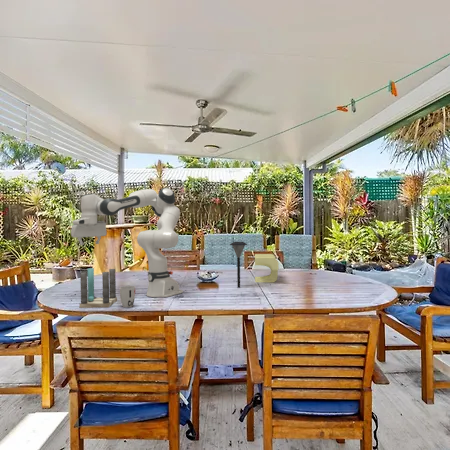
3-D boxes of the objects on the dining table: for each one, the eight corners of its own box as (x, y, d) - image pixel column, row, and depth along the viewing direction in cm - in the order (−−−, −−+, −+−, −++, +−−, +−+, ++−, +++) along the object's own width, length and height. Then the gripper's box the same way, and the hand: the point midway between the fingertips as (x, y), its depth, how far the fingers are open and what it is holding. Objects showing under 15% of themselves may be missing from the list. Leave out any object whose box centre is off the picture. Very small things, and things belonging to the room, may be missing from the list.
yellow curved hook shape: (278, 284, 237) (278, 258, 237) (255, 284, 238) (254, 258, 238) (275, 277, 267) (275, 254, 267) (255, 277, 268) (254, 254, 268)
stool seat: (89, 300, 196) (88, 268, 195) (117, 300, 196) (116, 268, 195) (78, 307, 180) (77, 273, 180) (108, 307, 180) (107, 272, 180)
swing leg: (93, 300, 185) (93, 270, 184) (87, 301, 183) (86, 271, 183) (94, 296, 195) (93, 267, 195) (88, 296, 194) (87, 268, 194)
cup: (129, 308, 177) (129, 289, 177) (116, 307, 180) (116, 288, 180) (138, 305, 184) (138, 286, 184) (126, 303, 187) (126, 285, 187)
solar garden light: (245, 289, 221) (244, 242, 220) (227, 288, 225) (226, 242, 224) (250, 286, 232) (249, 241, 232) (232, 285, 236) (232, 241, 236)
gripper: (103, 220, 215) (103, 243, 215) (69, 221, 200) (70, 245, 200) (108, 220, 210) (108, 243, 210) (74, 221, 196) (74, 245, 196)
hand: (89, 244), depth 205 cm, fingers open, 8 cm apart
